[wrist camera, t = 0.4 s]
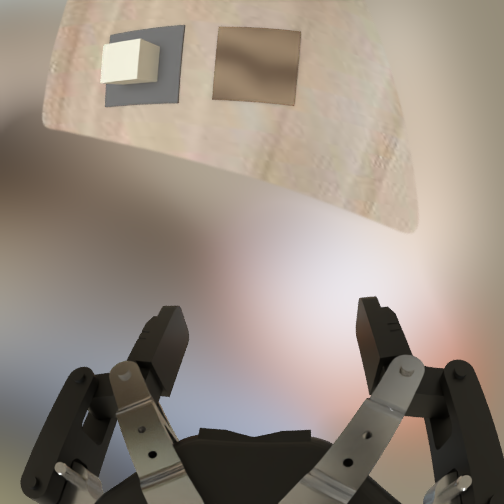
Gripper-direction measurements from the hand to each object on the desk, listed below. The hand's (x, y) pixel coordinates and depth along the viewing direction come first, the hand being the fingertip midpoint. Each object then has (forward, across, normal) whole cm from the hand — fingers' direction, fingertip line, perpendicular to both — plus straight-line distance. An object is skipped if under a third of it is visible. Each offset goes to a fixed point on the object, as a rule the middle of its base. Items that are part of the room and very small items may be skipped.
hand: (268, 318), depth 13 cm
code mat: (+28, +16, -18) cm, 36 cm away
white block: (+27, +16, -18) cm, 36 cm away
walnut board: (+28, +1, -14) cm, 31 cm away
